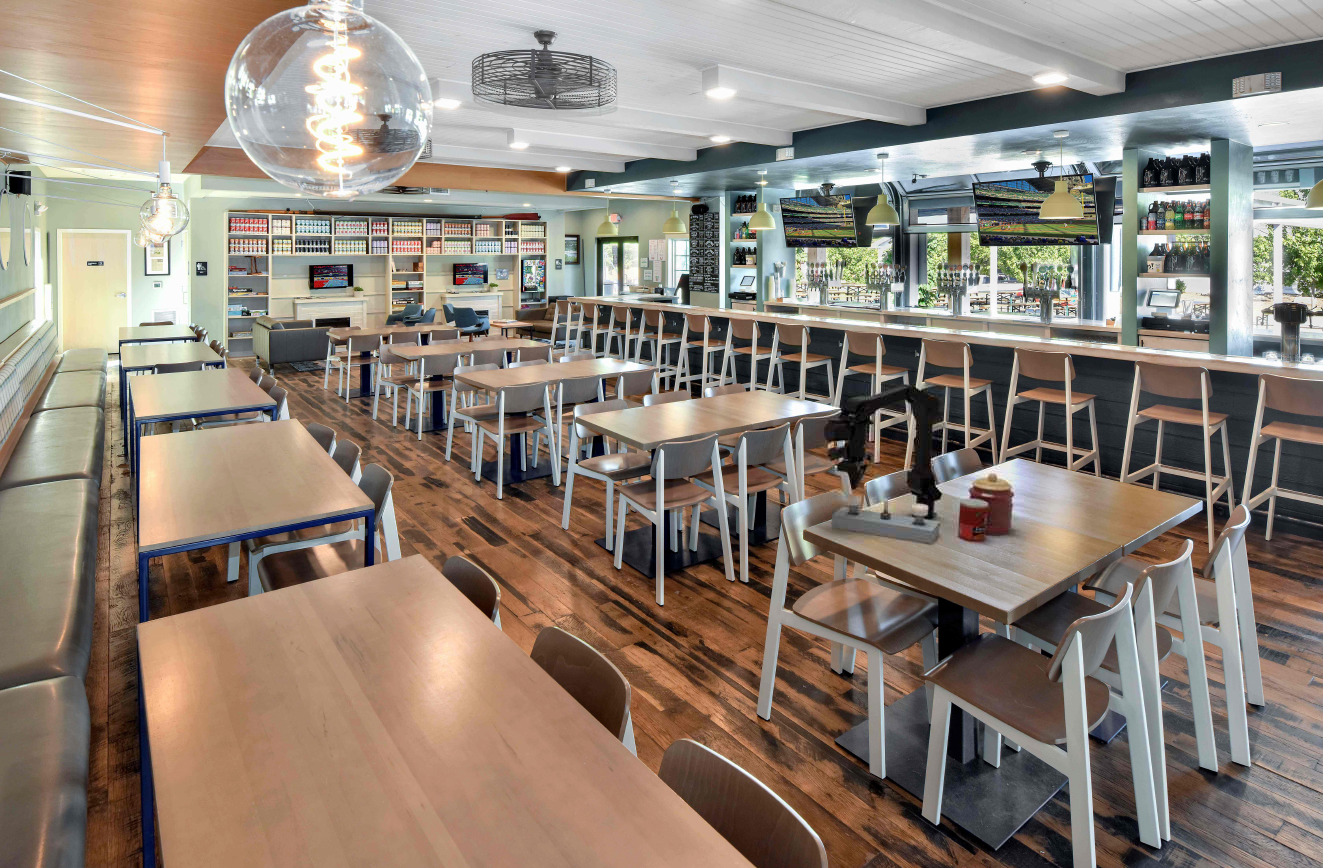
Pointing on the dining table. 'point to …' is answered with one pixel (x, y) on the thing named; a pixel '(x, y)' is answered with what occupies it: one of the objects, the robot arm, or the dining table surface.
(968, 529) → the canned food
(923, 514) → the knob right
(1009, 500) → the canister
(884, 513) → the pot stem
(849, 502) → the knob left
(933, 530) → the mount
